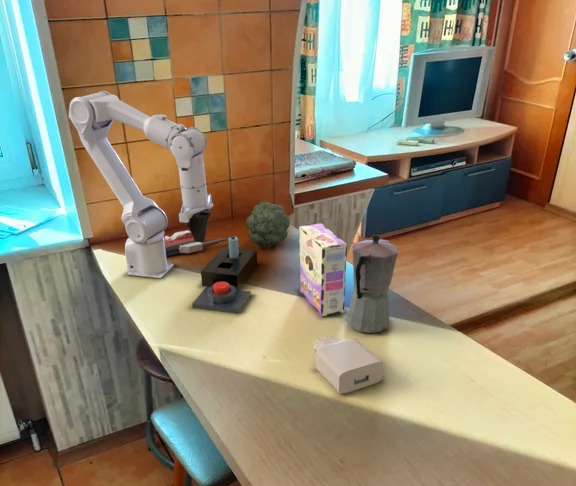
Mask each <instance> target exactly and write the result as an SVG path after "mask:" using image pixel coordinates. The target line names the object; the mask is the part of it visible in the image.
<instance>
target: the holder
mask: <svg viewBox="0 0 576 486" xmlns="http://www.w3.org/2000/svg"><path fill="white" fill-rule="evenodd" d="M257 265H258V250H257V249H250V248H241V247H240V248H239V258H238V259H237V258H230V256H229V246H223V247H221V248H220V249H219V251H218V252H217V253H216V254H215V255H214V256H213V257H212V258H211V259H210V260H209V261H208V262H207V264H206V265H204V267H203V268H202V269H201V271H200V279H201V287H205V288H206V287H207V286H209V287H211V286H213V285H214V284H215V283H216V282H227V283H228V284H229V285H232V286H234V287H235V288H236V290H240V288H241V287H242V285H243V284H244V283H245V281H246V280H247V279H248V277H249V276H250V275H251V274H252V273H253V270H254V269H255V268H256V267H257Z"/></svg>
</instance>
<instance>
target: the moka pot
mask: <svg viewBox="0 0 576 486" xmlns="http://www.w3.org/2000/svg"><path fill="white" fill-rule="evenodd" d="M397 258H398V247H397V246H396V245H394V244H393V243H390V240H387V239H382V238H381V236H380V235H379V234H372V239H363V240H361V241H357V242H353V244H352V266H353V269H352V271H353V292H352V296H351V301H350V304H349V308H348V313H347V317H346V323H347V324H348V326H349V327H350V328H351V329H352V330H355V331H357V332H359V333H365V334H366V333H367V334H371V333H380V332H383V331H386V330H387V329H388V327H389V326H390V325H389V324H390V311H389V289H390V287H391V285H392V280H393V275H394V270H395V266H396V263H397Z"/></svg>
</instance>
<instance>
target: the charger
mask: <svg viewBox="0 0 576 486" xmlns="http://www.w3.org/2000/svg"><path fill="white" fill-rule="evenodd" d="M315 340H316V343H315V344H314V345H313V348H314V350H315V358H314V359H315V363H314V364H315V366H314V367H315V368H316V370H317V371H318V372H319V373H320V374H321V375H322V376H323V377H324V378H325V379H326V381H328V383H330V385H331V386H332V387H333V388H334V389H335V390H336V391H337V392H338V393H339V394H347V393H350V392H351V393H352V392H354V391H356V390H360V389H362V388H366V387H369V386H372V385H376V384H377V383H380V381H382V379H383V375H384V362H383V361H382V360H381V359H380V358H379V357H377V356H376V355H375V354H374V353H373V352H372V351H370V350H369V348H367V347H366V346H365V345H364V344H363V343H362V342H361V341H360V340H358V339H357V338H346V339H343V340H340V339H339V338H336V337H332V336H330V337H327V336H326V335H324V336H323V339H320V338H318V337H317V338H316V339H315Z"/></svg>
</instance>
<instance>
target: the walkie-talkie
mask: <svg viewBox="0 0 576 486" xmlns="http://www.w3.org/2000/svg"><path fill="white" fill-rule="evenodd" d="M226 241H228V239H227V238H226V237H224V238H219V239H215V240H211V241H207V242H195V241H194V238H193V236H192V233H191V231H190V230H189V229H185V230H182V231H176V232H174V233H173V234H172V235H171V236H169V235H165V236H164V244H165V252H166V257H170V256H174V255H178V254H192V253H197V252H202V251H203V249H204V248H206V247H209V246H213V245H218V244H219V243H223V242H226Z"/></svg>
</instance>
